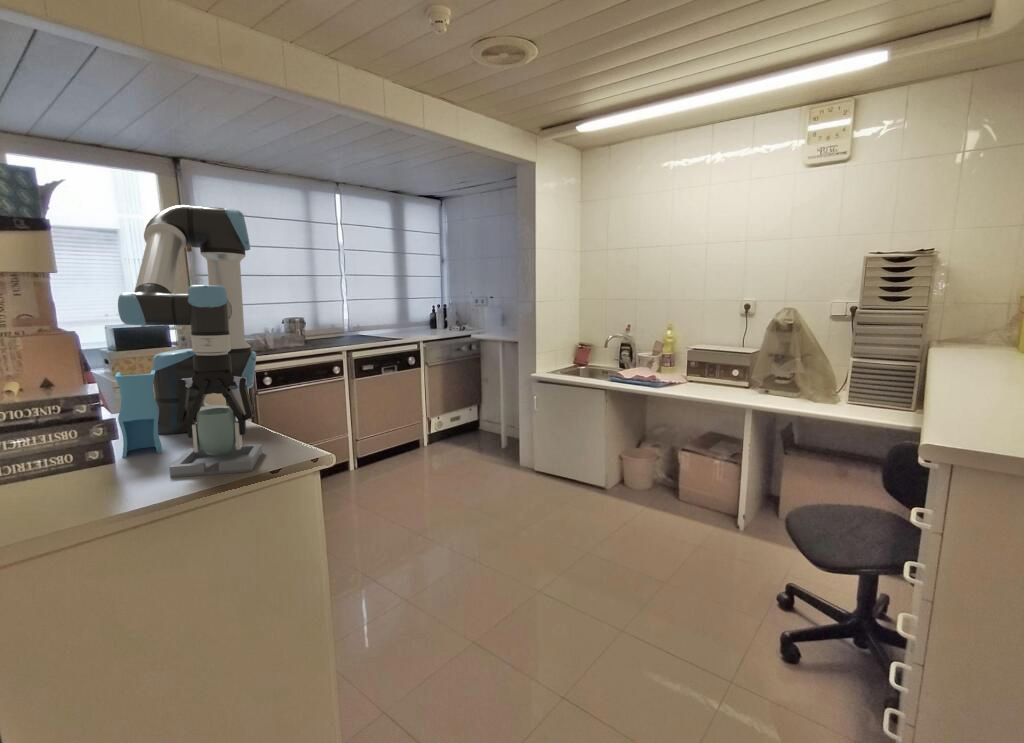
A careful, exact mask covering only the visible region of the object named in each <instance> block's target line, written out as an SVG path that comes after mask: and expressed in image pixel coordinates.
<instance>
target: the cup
mask: <svg viewBox="0 0 1024 743" xmlns="http://www.w3.org/2000/svg"><path fill="white" fill-rule="evenodd" d="M196 419H197V431H198V439H199V443H200V446H201V449H202V450H203V451H204V452H205V453H207V454H210V455H220V454H224V453H227V452H230V451H231V450H232V449H233V448H234V446H235V445H236V436H235V422H236V421H237V418H236V416H235V414H234V413H233V411H232V409H231V407H229V408H211V409H205V410H201V411H198V412H197V414H196Z"/></svg>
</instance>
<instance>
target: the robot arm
mask: <svg viewBox="0 0 1024 743" xmlns="http://www.w3.org/2000/svg"><path fill="white" fill-rule="evenodd" d="M143 239H144V242H145V249H144V251H143V256H142V260H141V264H140V268H139V272H138V276H137V279H136V283H135V287H134V290H133V291H134V292H133V291H130V292H122V293H121V294H119V296H118V299H117V310H118V316H119V319H120V320H121V322H122V323H123V324H124V325H126V326H143V327H149V326H151V327H152V326H190V330H191V333H190V336H191V337H190V338H191V347H192V348H183V349H176V350H169V351H165V352H164V351H163V352H160V353H157V354H155V355H154V356H153V358H152V367H151V368H152V370H151V371H153V370H155V376H154V383H153V392H154V397H155V400H156V403H157V405H158V407H159V418H158V435H159V434H161V435H164V434H165V435H167V434H168V435H171V434H173V435H174V434H183V433H187V437H188V439H192V442H193V448H194V453H195V452H199V451H200V450H201V446H200V443H199V439H198V431H197V422H195V421H196V414H197V412H198V411H199V410H200V408H201V407H203V406H206V405H205V402H204V401H205V398H206V396H207V395H211V394H217V395H218V394H221V395H222V396H223V398H225V400H226V403H227V404H228V406H229V408H231V409H232V411H233V413H234V414H235V416H236V422H235V436H236V444H235V445H236V450H240V449H241V447H242V445H243V435H244V436H245V434H246V432H247V424H246V422H247V420H250V419H252V418H253V417H254V415H255V413H254V410H253V409H254V408H253V404H252V401H251V396H250V395H249V390H248V389H251V388H252V387H253V386H254V382H255V373H256V363H257V352H256V351H254V350H253V351H252V347H251V345H250V344H249V343H248V342H247V341H246V338H245V337H246V336H245V322H244V320H245V319H244V307H243V304H244V302H243V289H242V286H243V285H242V272H241V270H242V269H241V261H243V259H245V258H246V251H250V250H251V245H250V239H249V233H248V229H247V224H246V220H245V216H244V214H243V212H241V210H238V209H234V208H226V207H216V206H215V207H212V206H197V205H188V204H186V205H185V204H181V205H180V204H179V205H173V206H170V207H167V208H166V209H165V208H164V209H162V211H160V212H158V213H156V214H155V215H154V216H153V217H152V218H151V219H150V220H149V221H148V222H147V223H146V226H145V228H144V232H143ZM185 248H199V249H200V250H199V252H200V255H201V256H202V257H203V258H205V260H206V264H207V267H206V269H207V280H208V284H206V285H205V284H191V285H190V286H189V287H188V290H187V292H188V293H178V292H177V293H176V292H175V293H174V291H175V287H176V286H175V285H176V280H177V275H178V267H179V261H180V256H181V252H183V251H184V250H185ZM233 391H239V394H240V397H241V402H242V405H243V409H242V408H241V406H240V404H239V402H238V400H237V399H236V398H235V395H234V394H233V393H234V392H233ZM243 410H244V411H243Z"/></svg>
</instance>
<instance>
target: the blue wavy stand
mask: <svg viewBox="0 0 1024 743" xmlns="http://www.w3.org/2000/svg"><path fill="white" fill-rule="evenodd" d="M152 370H153V369H152ZM152 370H151V371H150V373H146V374H145V373H144V374H131V375H130V374H129V375H127V374H126V375H122V372H121V371H118V372H116V373H115V375H114V377H115V380H116V382H117V385H118V388H119V392H120V408H119V414H118V416H117V420H118V424H119V427H120V431H121V435H122V440H123V448H122V456H121V458H123V459H124V458H127V455H128V452H129V451H133V450H137V449H147V448H155V449H156V453H157V454H160V453H161V454H162V452H163V451H162V449H163V446H162V443H161V439H160V435H159V433H158V418H159V407H158V405H157V403H156V400H155V391H154V376H155V370H153V371H152Z"/></svg>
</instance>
